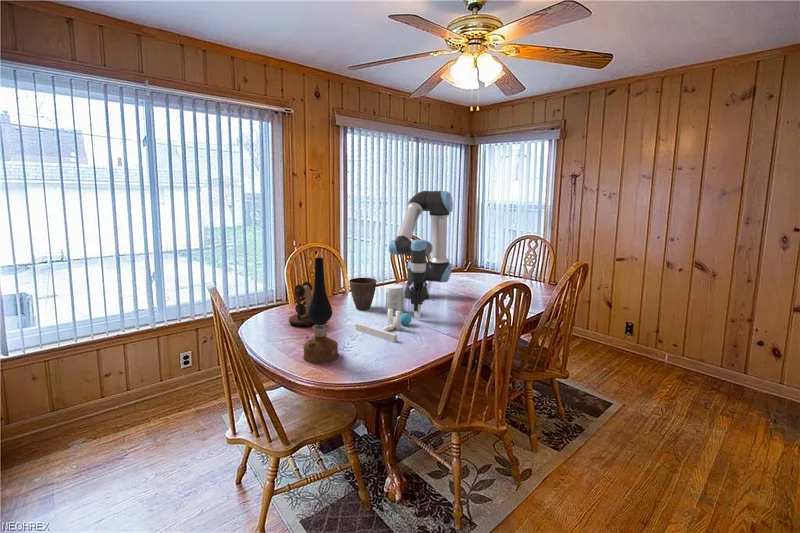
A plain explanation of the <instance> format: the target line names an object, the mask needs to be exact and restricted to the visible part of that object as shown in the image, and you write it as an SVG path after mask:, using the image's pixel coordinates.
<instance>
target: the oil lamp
mask: <svg viewBox="0 0 800 533" xmlns="http://www.w3.org/2000/svg"><path fill="white" fill-rule="evenodd" d="M324 269H325V268H324V258H323V257H315V258H314V276H313V277H314V279H313V280H314V282H313V292H312V295H311V297H312V299H311V302H310V305H309V308H308V317H309V319H310V320H311V321H312V322H314V323H313V326H312V330H313V333H314V336H308V334H307V335H306V340H307V341H306V342H305V343H304V344H303V357H302V358H303V361H305V362H307V363H310V364H326V363H327V364H328V363H332V362H334V361H335V360H337V359H338V358H339V353H338V349H339V348H338V345H339V344H338V342H337V340H334V339H332V338H330V337H329V336H327V331H328V329H329V325H328V324H327V323H328V322H329V320H330V319H331V318H332V316H333V308H332V305H331V303H330V301H329V297H328V295H327V294H328V293H327V292H326V290H327V289H326V285H325V284H326V282H325V272H324V271H325V270H324ZM309 338H311V339H309ZM308 339H309V340H308Z"/></svg>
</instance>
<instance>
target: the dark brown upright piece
mask: <svg viewBox="0 0 800 533" xmlns="http://www.w3.org/2000/svg"><path fill="white" fill-rule="evenodd" d="M312 291H313V286H312V284H311V282H309V281H304V282H303V283H302V284H296V285H295V287H294V293H295V295H296V299H295V303H296V305H295V306H294V307H295V308H294V309H295V312H296V313H294V314H293V315H291V316H289V318H288V323H289V325H290V324H291V325H298V326H304V325H306V328H308V327H310V325H312V324H313V325H314V322H312V321H311V320H310V319H309V317H308V308H309V305H310V302H311V299H312ZM302 301H303V302H302ZM301 302H302V303H301Z"/></svg>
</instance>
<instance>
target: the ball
mask: <svg viewBox="0 0 800 533" xmlns="http://www.w3.org/2000/svg"><path fill="white" fill-rule="evenodd" d="M411 323H412V316H411V315H410V314H409V313H407V312H403V313H402V314H401V326H402V325H403V326H408V325H410V324H411Z"/></svg>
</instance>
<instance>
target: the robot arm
mask: <svg viewBox="0 0 800 533" xmlns="http://www.w3.org/2000/svg"><path fill="white" fill-rule="evenodd" d="M453 205H454V204H453V197H452V194H451V192H449V191H444V190H422V191H419V192H417V193H415V195H413V196H412V197H411V198H410V200H409V201H408V203H407V204H406V208H405V209H406V212H405V214H404V217H403V220H402V223H401V225H400V227H399V231H398V233H397V235H396V238H395V239H391V240H390V241H389V243H388V252H389V253H390V255H396V256H410V260H409V261H408V262H407V268H406V269H407V275H406V276H407V278H406V279H407V280H406V281H407V282H406V287H405V291H404V299H405V298H406V299H408V300H410V303H411V305H413V311H414V315H413V317H414V318H418V319H419V318H421V309H422V307H421V306H422V305H423V304H424V302H425V299H428V298H429V296H430V295H429V294H430V293H429V291H428V283H427V282H433V283H434V282H435V283H447V282H449V280H450V278H451V273H452V270H453V268H452V267H453V266H452V263H451V262H450V259H449V258H448V257H447V245H448V244H447V242H448V241H447V232H448V225H447V224H448V217H449V216H450V213H452V212H453V209H454V206H453ZM423 212H428V213H429V216H430V217H431V242H430V241H428V240H425V239H419V238H418V239H413V240H412V237H413V234H414V231H415V228H416V226H417V223H418V220H419V217H420V215H422V213H423ZM430 255H431V258H430V259H429V261H428V260H427V256H430Z"/></svg>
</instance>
